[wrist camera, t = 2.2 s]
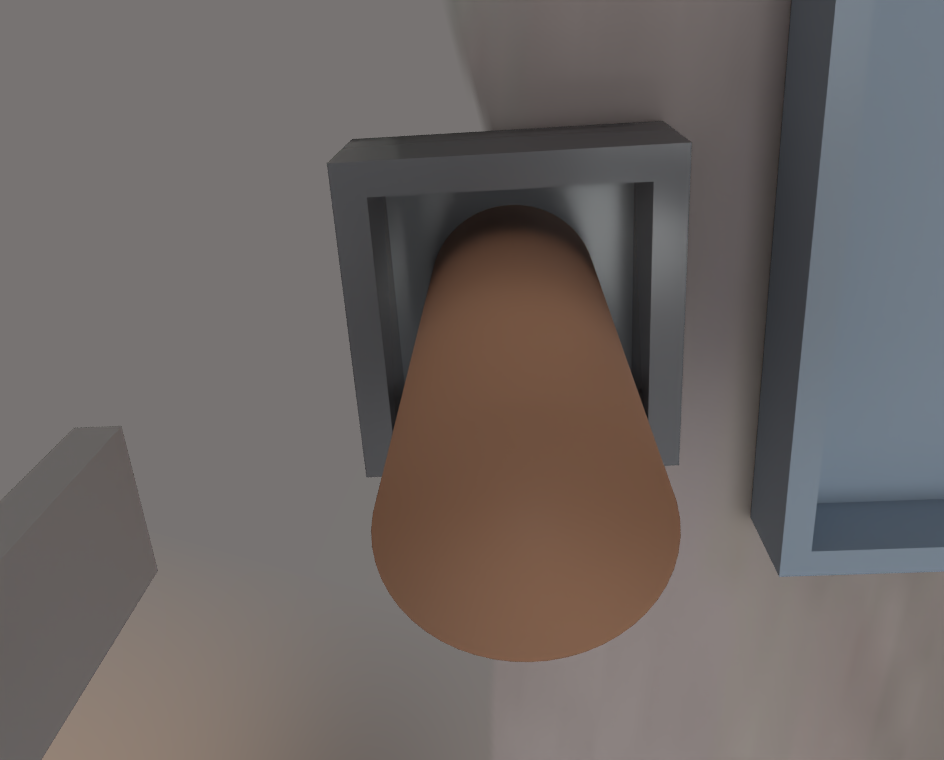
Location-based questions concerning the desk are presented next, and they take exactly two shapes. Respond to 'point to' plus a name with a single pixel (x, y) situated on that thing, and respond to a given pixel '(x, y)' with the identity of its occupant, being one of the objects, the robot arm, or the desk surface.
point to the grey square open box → (514, 183)
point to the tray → (856, 297)
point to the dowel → (522, 454)
